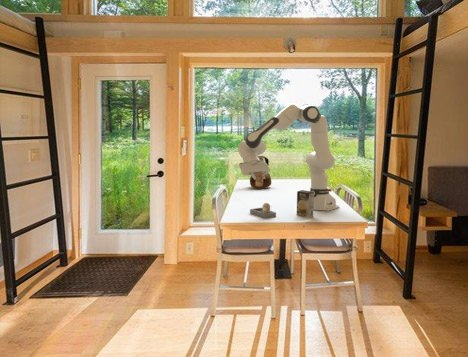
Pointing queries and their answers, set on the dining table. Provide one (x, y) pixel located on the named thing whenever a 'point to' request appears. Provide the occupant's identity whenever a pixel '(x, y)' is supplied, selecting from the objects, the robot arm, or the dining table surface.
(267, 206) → the cream egg
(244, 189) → the dining table surface
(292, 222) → the dining table surface
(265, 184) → the ceramic pitcher
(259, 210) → the egg carton
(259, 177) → the brown rounded oval piece
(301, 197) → the coffee box
